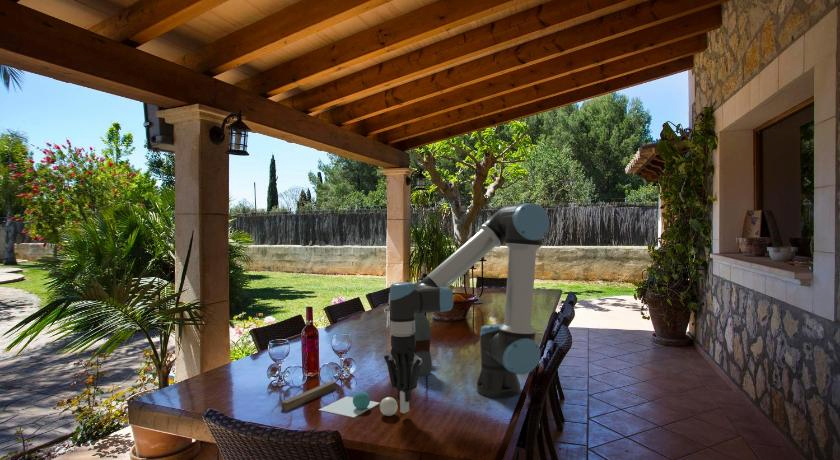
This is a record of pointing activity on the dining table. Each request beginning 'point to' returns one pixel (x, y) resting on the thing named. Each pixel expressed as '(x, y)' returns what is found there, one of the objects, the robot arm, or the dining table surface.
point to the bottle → (422, 343)
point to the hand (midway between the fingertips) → (404, 411)
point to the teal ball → (361, 400)
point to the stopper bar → (308, 395)
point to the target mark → (346, 407)
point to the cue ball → (388, 406)
